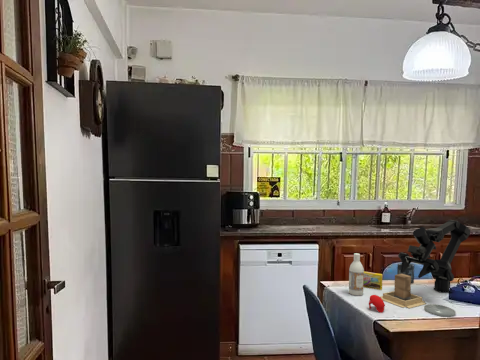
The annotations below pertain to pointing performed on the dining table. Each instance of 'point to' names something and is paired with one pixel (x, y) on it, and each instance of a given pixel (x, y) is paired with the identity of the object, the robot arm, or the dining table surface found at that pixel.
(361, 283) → the bath foam
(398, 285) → the walnut box
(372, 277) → the candy box
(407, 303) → the wooden square frame
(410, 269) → the box
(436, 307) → the plate
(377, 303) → the red rounded piece
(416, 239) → the robot arm
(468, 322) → the dining table surface
